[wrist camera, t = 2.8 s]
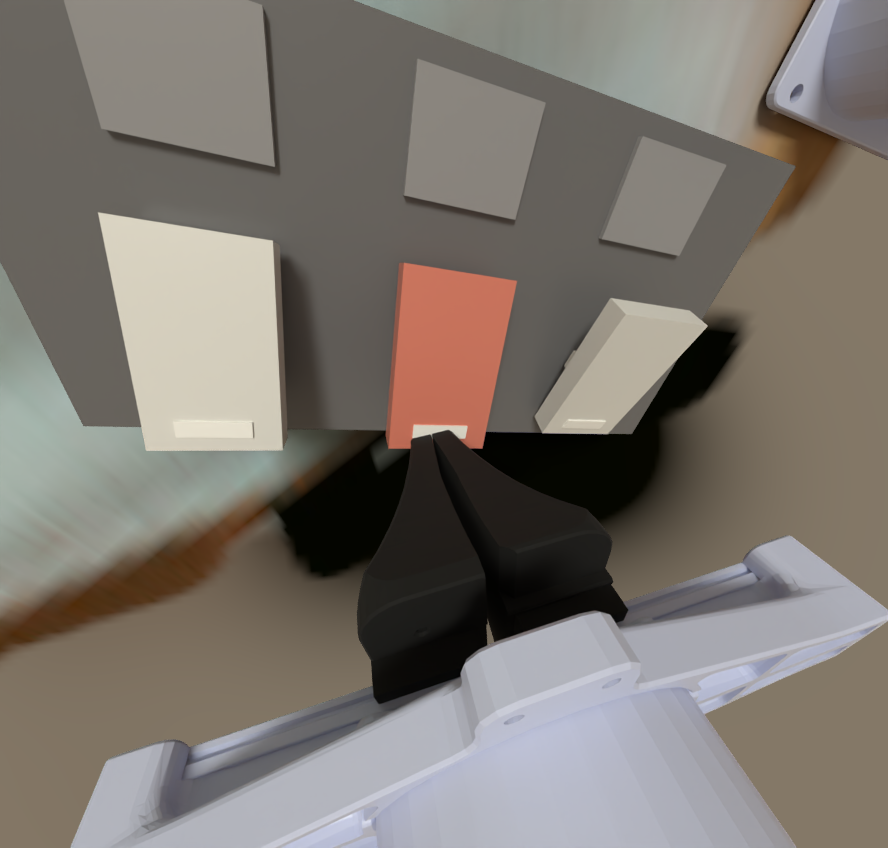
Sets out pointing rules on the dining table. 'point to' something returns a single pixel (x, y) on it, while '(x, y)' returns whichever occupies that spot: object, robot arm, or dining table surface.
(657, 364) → the rocker
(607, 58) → the dining table surface
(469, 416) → the rocker middle
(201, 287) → the rocker
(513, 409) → the power strip
